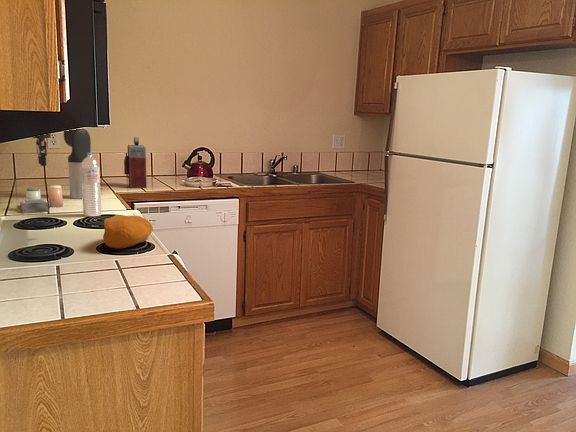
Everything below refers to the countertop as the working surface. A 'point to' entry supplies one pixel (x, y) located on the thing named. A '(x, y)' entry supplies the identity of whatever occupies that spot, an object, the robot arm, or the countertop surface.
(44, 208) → the lane
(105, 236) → the bread
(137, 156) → the red grey square bottle
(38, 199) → the plate
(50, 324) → the countertop surface
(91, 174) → the water bottle
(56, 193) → the terracotta jar
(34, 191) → the sage jar
